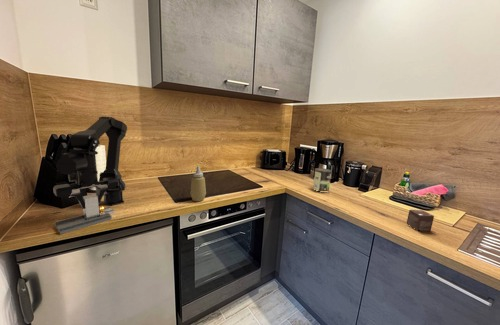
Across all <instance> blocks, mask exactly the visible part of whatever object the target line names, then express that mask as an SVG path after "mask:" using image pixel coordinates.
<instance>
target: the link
mask: <svg viewBox="0 0 500 325" xmlns="http://www.w3.org/2000/svg"><path fill="white" fill-rule="evenodd" d="M83 200H84V204H85V209H83V208H82V212H83V215H84V218H85V219H86V220H89V219H92V218H96V217H100V216H103V215H107V214H110V215H113V214H115V209H112V207H111V206H107V207H104V212H103V213H100V212H99V207H100V206H99V205H100V204H99V205H98V196H97V195H96V194H95V193H93V194H92V193H91V194H89V195H84V196H83Z"/></svg>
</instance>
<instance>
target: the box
mask: <svg viewBox="0 0 500 325" xmlns="http://www.w3.org/2000/svg"><path fill="white" fill-rule="evenodd" d="M434 219H435V215H433V214H431V213H429V212H427V211H425V210H423V209H409V211H408V215H407V218H406V223H407V224H408V225H410V226H411V227H413V228H415V229H416V230H420V231H419V232H431V230H432V226H433V223H434ZM408 225H407V226H408ZM410 226H409V227H410ZM411 227H410V228H411ZM413 228H412V229H413ZM415 229H414V230H415ZM416 230H415V231H416Z"/></svg>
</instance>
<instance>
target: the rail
mask: <svg viewBox="0 0 500 325" xmlns="http://www.w3.org/2000/svg"><path fill="white" fill-rule="evenodd" d="M104 208H105V206H104V205H100V206H99V212H100V213H103V212H104ZM110 220H112V216H111V214H107V215H103V216H100V217H96V218H92V219H89V220H86V219H85V218H84V214H80V215H77V216H71V217H68V218H65V219H61V220H56V221H54V226H55V228H56V229H57V231H58V233H59V234H60V235H63V234H66V233H70V232H74V231H77V230H80V229H83V228H87V227H90V226H93V225H97V224H101V223H103V222H107V221H110Z"/></svg>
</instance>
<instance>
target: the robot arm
mask: <svg viewBox="0 0 500 325" xmlns="http://www.w3.org/2000/svg"><path fill="white" fill-rule="evenodd" d="M127 131H128V126H127V124H126V123H125V122H123V121H120V120H118V119H116V118H115V117H112V116H104V115H103V116H99V117H98V120H96V121H95V122H94V123H93V124H91V125H90V126H89V127H88V128H87V129H85V130H81V131H77V132H75V133H73V134H71V135H70V137H69V139H68V142H67V143H66V146H65V149H64V152H63V153H62V154H61V158H59V159H58V160H57V161H56V163H55V167H56V170H57V171H58V172H59V173H60V174H63V175H64V176H65V175H67V178H68V182H74V183H75V184H74V185H70V184H69V183H64V184H63V183H62V184H57V185H54V186H53V188H52V190H53V191H52V192H53V194H54V196H56V197H57V198H60V197H66V196H70V197H75V199H76V200H77V201H78V203H79V204H80V206H81V208H82V210H83V209H85V204H84V200H83V193H82V192H81V190H86V189H92V188H95V192H96V194H95V195H97V196H98V205H100V203H101V201H102V198H103V202H104V204H106V205H107V206H108V207H111V206H115V205H118V204H123V203H125V200H124V197H123V191H125V190H126V183H125V182H124V180H123V179H122V174H121V173H120V171H119V165H120V164H119V163H120V154H121V145H122V144H121V143H122V140H124V138H125V137H126V134H127ZM104 134H105V135H106V137H107V139H108V142H107V143H108V145H107V154H106V163H105V169H104V171H102V172H101V171H100V173H99V179H98V170H97V159H96V155H98V154H99V152H98V151H97V150H96V149H97V148H98V147H99V145H100V138H101V137H103V136H104Z"/></svg>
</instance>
